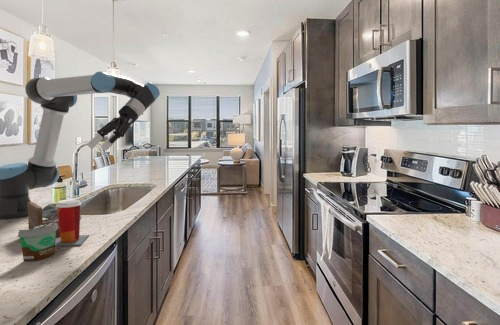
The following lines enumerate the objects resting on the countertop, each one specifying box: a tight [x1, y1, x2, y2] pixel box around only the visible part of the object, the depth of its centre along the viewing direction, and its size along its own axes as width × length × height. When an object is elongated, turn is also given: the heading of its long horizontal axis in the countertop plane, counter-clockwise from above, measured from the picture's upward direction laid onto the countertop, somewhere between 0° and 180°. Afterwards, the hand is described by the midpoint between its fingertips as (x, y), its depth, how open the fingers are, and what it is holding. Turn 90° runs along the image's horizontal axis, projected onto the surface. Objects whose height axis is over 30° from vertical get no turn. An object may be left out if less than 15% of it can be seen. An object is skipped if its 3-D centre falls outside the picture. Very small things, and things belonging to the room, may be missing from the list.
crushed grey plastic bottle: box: [42, 203, 82, 220], centre depth 137 cm, size 13×7×25 cm
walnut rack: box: [27, 201, 60, 239], centre depth 121 cm, size 10×13×12 cm
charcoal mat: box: [55, 234, 90, 248], centre depth 114 cm, size 10×10×1 cm
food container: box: [17, 219, 58, 262], centre depth 100 cm, size 12×6×10 cm, turn 170°
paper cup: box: [56, 198, 82, 243], centre depth 113 cm, size 8×8×14 cm
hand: (96, 147), depth 126 cm, fingers open, 13 cm apart
